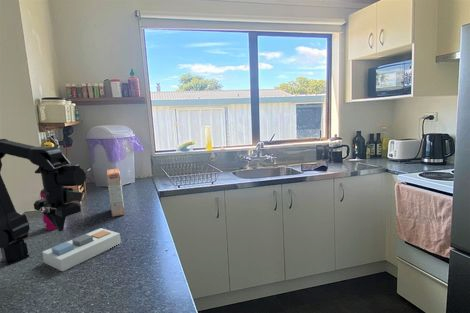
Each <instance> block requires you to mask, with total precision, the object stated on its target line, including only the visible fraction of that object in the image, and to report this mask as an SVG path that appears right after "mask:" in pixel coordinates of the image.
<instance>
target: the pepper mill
mask: <svg viewBox="0 0 470 313" xmlns="http://www.w3.org/2000/svg"><path fill="white" fill-rule="evenodd" d="M41 190H44V188H42V189H41ZM39 192H40V193H39V195H40V198H42V199H45V194H42V192H41V191H39ZM44 212H46V209H45V208H44ZM42 221H43V223H44V224H46V225H45V230H46V231H54V230H57V228H56V227H55V226H54V225H53V223H52V222H51V221H50V220H49V219H48V217H47V216H46V215H45V214H44V213H43V216H42Z"/></svg>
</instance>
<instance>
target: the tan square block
mask: <svg viewBox="0 0 470 313" xmlns="http://www.w3.org/2000/svg"><path fill="white" fill-rule="evenodd" d="M108 234H110V232H107V231H103V230H102V231H100V232H98V233H95V234H93V235H91V236H92V237H95V238H98V239H99V238H101V237H104V236H106V235H108Z"/></svg>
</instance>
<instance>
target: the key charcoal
mask: <svg viewBox="0 0 470 313" xmlns="http://www.w3.org/2000/svg"><path fill="white" fill-rule="evenodd" d="M86 234H87V233H85V234H82V235H79V236H77V237H75V238H72V239H71V240H72V242H73V244H74V245H76V246H79V247H81V246H83V245H85V244H88V243H90V242H92V241H93V237H92V236H89V235H86Z"/></svg>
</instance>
